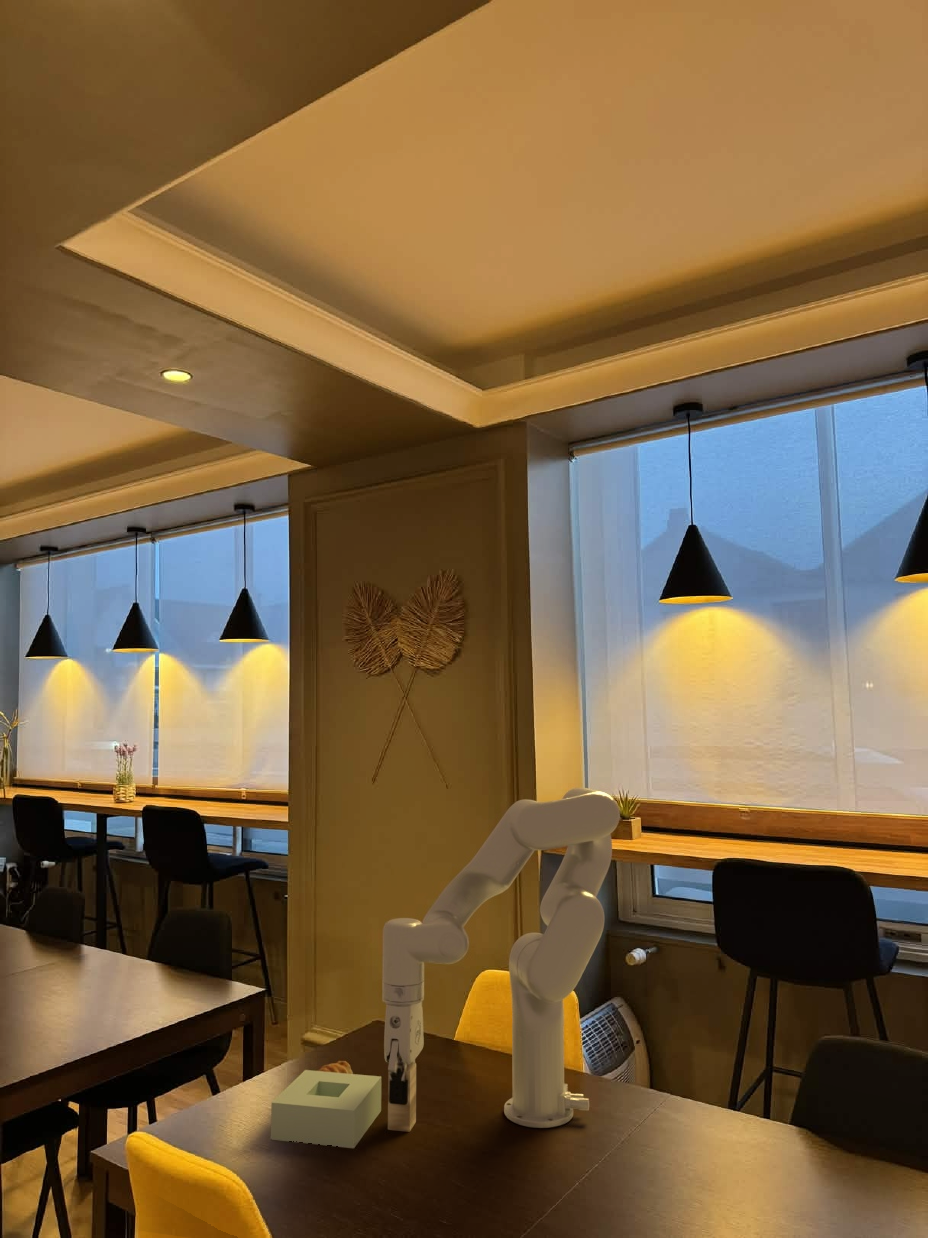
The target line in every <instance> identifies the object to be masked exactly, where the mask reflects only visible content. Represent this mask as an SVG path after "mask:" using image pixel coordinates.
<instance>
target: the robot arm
mask: <svg viewBox="0 0 928 1238" xmlns="http://www.w3.org/2000/svg"><path fill="white" fill-rule="evenodd" d="M620 818H621V812H620V807H619V804H618V803H617V801H616V800H615V799H614V798H613V797H612V796H610V794H608V793H606V792H604V791H600V790H596V789H592V788H589V787H588V788H587V787H575V788H572V789H571V788H570V790H568V791H566V793H564V795H563V797H562V798H561V799H556V800H549V801H537V800H534V799H527V798H526V799H525V798H524V799H520V800H517V801H515V802H514V803H513V804H512V805H511V806H510V807H509V808H508V809H507V810H506V811H505V813H504V815H503V816H502V817H501V819H500V820H499V821H498V823H497V824H496V826H495V827H494V829H493V830H492V831H491V833H490V834H489V836H488V837H487V838H486V840H485V841H484V843H483V844H482V845H481V847H480V848H479V850H478V851H477V853H475V855H474V856H473V857H472V859H471V860H470V862H468V863H467V864H466V865H465V866H464V867H463V868H462V870H460V871H459V873H458V874H457V875H455V877H454V878H453V879H451V880H450V882H449V883H448V884H447V885H446V886H445V887H444V889H443V890H442V891H441V893H440V894H439V895H438V897H437V898H436V899H435V901H434V903H433V904H432V905H431V907H430V908H429V910H428V911H427V913H426V914H425V916H424V917H423V920H422V921H421V920H419V919H415V918H411V917H398V918H397V917H396V918H392V919H390V920H388V921H386V922H385V923H384V925H383V928H382V982H381V983H382V984H381V985H382V989H381V991H382V995H381V996H382V997H381V1001H382V1002H383V1003H385V1004H386V1007H385V1017H384V1019H385V1021H384V1033H383V1034H384V1037H383V1039H384V1040H383V1049H384V1050H383V1051H384V1052H383V1054H384V1055H383V1056H384V1057H383V1058H384V1061H385V1062H386V1063H387V1064H388V1066H387V1073H388V1072H389V1073H390V1074H389V1080H390V1081H389V1102H390V1103H391V1104H400V1105H406V1104H407V1102H408V1080H406V1068H407V1064H408V1065H410V1064H411V1063H416V1059H417V1058H418V1056H419V1055H420V1053H421V1052H422V1050H423V1048H424V1044H425V1042H424V1041H425V1040H424V1039H425V1038H424V1013H423V1012H424V1011H423V1001H424V1000H425V963H431V964H441V965H450V964H452V965H453V964H456V963H458V962H459V961H460V960H462V959H463V958H464V957H465V955H467V952H468V950H469V946H470V945H469V944H470V941H469V940H470V939H469V935H468V934H467V931H466V929H465V928H464V927H465V926H466V924H467V923H468V921H470V919H471V917H472V916H473V915H474V913H475V912H476V911H477V910H478V909H479V908H480V907H481V906H482V904H483V905H484V903H485V902H486V901H487V900H489V899H491V898H493V897H495V896H498V895H500V894H502V893H504V892H505V891H506V890H509V888H510V887H511V885H512V884H513V882H514V881H515V880H516V878H517V877H518V875H519V874H520V873H521V871H522V870H523V869H524V866H525V865H526V863H527V862H528V861H529V860H530V858H531V856H533V854H534V852H535V851H546V850H554V849H558V848H564V847H566V851H565V854H564V856H563V858H562V861H561V863H560V865H559V867H558V869H557V871H556V873H555V874H554V877H553V879H552V880H551V882H550V884H549V886H548V888H547V890H546V892H545V893H544V895H543V897H542V900H541V903H540V908H539V912H540V916H541V919H542V921H543V923H544V924H545V925H546V926H547V927H546V929H545V932H544V933H540V932H529V933H525V934H523V935H521V936H520V937H519V938H518V939H516V941H515V942H514V943H513V945H512V947H511V950H510V954H509V958H508V959H509V960H508V971H509V980H510V990H511V991H510V992H511V1012H512V1013H511V1014H512V1015H511V1019H512V1021H511V1035H512V1036H511V1037H512V1038H511V1039H512V1040H511V1042H512V1043H511V1045H512V1046H511V1049H512V1050H511V1053H512V1056H511V1058H512V1060H511V1061H512V1063H511V1064H512V1065H511V1066H512V1070H511V1071H512V1078H511V1079H512V1080H511V1081H512V1082H511V1083H512V1097H511V1098H509V1099H508V1100H507V1101H506V1102H505V1103H504V1106H503V1112H504V1115H505V1117H506V1118H507V1119H508V1120H510V1121H511V1122H512V1123H515V1124H517V1125H520V1126H523V1127H527V1128H534V1129H537V1128H538V1129H548V1128H555V1127H560V1126H563V1125H565V1124H566V1123H568V1122H570V1121H571V1120H572V1118H573V1117H574V1109H575V1110H579V1111H589V1110H590V1099H589V1098H586V1097H584V1094H583V1093H571V1091H569V1090H568V1089H569V1087H568V1083H565V1044H564V1043H565V1041H564V1040H565V1039H564V1038H565V1037H564V1035H565V1031H564V1029H565V1028H564V1027H565V1016H564V1015H565V1014H564V1013H565V1010H564V999H566V998H567V997H568V996H569V995H571V993H572V992H573V991H574V989H575V988H576V987H577V986H578V983H579V981H580V980H581V978H582V975H583V973H584V971H585V970H586V967H587V966H588V964H589V962H590V959H591V957H592V956H593V954H594V952H595V950H596V947H597V946H598V944H599V942H600V939H601V937H602V935H603V932H604V927H605V912H604V911H605V910H604V908H603V905H602V903H601V901H600V900H599V899H598V897H597V896H598V894H599V892H600V890H601V887H602V885H603V882H604V881H605V878H606V876H607V873H608V871H609V868H610V866H611V862H612V857H613V855H612V854H613V843H612V840H613V839H612V835H611V834H612V833H614V831H615V830H616V829H617V826H618V825H619V822H620ZM397 1065H399V1066H402V1071H401V1069H400V1068H398V1066H397Z"/></svg>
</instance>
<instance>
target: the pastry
mask: <svg viewBox="0 0 928 1238" xmlns="http://www.w3.org/2000/svg"><path fill="white" fill-rule="evenodd" d="M351 1068H352V1067H351V1064H349V1062H347V1061H346V1060H338V1061H337V1062H335V1063H333V1062H332V1063H329V1064H324V1065H322V1066H321V1067H320V1069H317V1071H323V1072H335V1073H346V1074H354V1072H353V1070H352V1069H351Z"/></svg>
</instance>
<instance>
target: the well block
mask: <svg viewBox="0 0 928 1238" xmlns="http://www.w3.org/2000/svg"><path fill="white" fill-rule="evenodd" d="M381 1111H382V1076H381V1075H379V1076H377V1075H368V1074H367V1075H366V1074H365V1075H364V1074H357V1073H356V1074H355V1073H353V1074H346V1073H335V1072H323V1071H318V1070H309V1069H304V1070H303V1072H301V1073H300V1074H299V1075H298V1076H297V1077H296V1078H295V1079H294V1080H293V1081H292V1082H291V1083H290V1084H289V1085H288V1086H287V1087H286V1088H285V1089H283V1090H282V1092H281V1093H280V1094H279V1095H277V1096H276V1097H275V1098H274V1100H272V1101H271V1111H270V1112H271V1115H270V1117H271V1118H270V1140H271V1139H272V1140H273V1141H281V1142H289V1141H292V1143H299V1142H303V1143H302V1144H308V1143H312V1144H311V1145H318V1144H320V1146H327V1145H332V1146H331V1147H336V1146H338V1147H339V1148H347V1149H355V1147H356V1146H357V1145H358V1143H359V1142H360V1141H361V1139H363V1136H364V1135H365V1134H366V1132H367V1131H368V1130H369V1128H370V1126H372V1124H373V1123H374V1121H375V1120H376V1118H377V1117H378V1116H379V1114H380V1113H381ZM272 1140H271V1141H272ZM293 1141H294V1142H293ZM296 1141H297V1142H296ZM338 1147H337V1148H338Z"/></svg>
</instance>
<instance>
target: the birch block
mask: <svg viewBox="0 0 928 1238" xmlns="http://www.w3.org/2000/svg"><path fill="white" fill-rule="evenodd" d="M397 1066H398V1068H400V1069H401V1071H402V1066H399V1065H397ZM387 1074H388V1075H387V1076H388V1079H387V1080H388V1081H387V1082H388V1084H387V1130H389V1131H397V1132H408V1133H410V1132H411V1131H412V1129H413V1127H414V1126H415V1124H416V1122H417V1063H416V1062H415V1063H411V1064H410V1065H408V1064H407V1068H406V1080H408V1102H407V1104H406V1105H400V1104H391V1103H390V1102H389V1081H390V1080H389V1074H390V1073H389V1072H388V1071H387Z"/></svg>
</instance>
